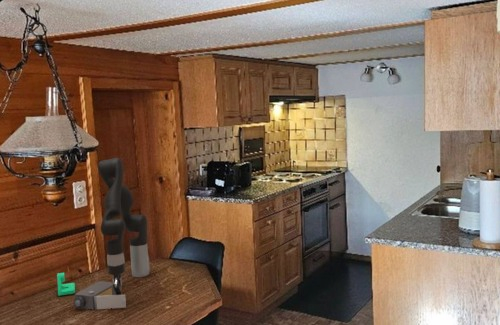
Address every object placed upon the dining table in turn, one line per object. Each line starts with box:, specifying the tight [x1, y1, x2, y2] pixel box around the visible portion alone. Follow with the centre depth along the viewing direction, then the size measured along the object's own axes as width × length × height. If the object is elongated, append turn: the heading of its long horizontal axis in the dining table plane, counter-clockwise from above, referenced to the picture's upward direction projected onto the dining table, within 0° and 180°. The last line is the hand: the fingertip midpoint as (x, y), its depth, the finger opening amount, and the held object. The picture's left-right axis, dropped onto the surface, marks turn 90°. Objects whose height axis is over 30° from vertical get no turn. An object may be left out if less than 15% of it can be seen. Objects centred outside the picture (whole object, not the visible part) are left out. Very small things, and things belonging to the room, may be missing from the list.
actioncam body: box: [73, 280, 116, 311], centre depth 233 cm, size 21×10×7 cm, turn 159°
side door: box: [94, 293, 127, 311], centre depth 224 cm, size 14×2×6 cm, turn 93°
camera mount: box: [56, 272, 76, 296], centre depth 248 cm, size 12×8×10 cm, turn 20°
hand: (119, 298), depth 228 cm, fingers closed
